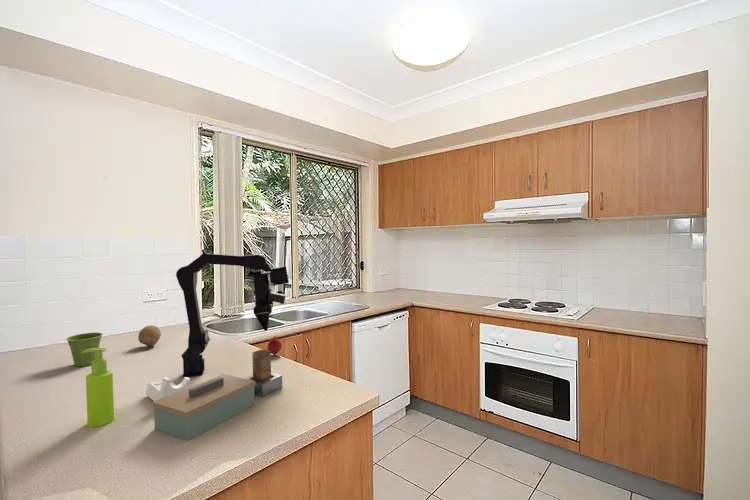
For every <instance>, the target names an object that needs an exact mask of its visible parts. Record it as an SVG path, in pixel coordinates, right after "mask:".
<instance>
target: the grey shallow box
mask: <svg viewBox="0 0 750 500" xmlns="http://www.w3.org/2000/svg"><path fill="white" fill-rule="evenodd" d="M244 379H248V380H253V374H251V375H250V376H247V377H245V378H244ZM253 381H255V380H253ZM282 388H283V374H278V373H273V372H271V378H270V379H268V380H266V381H264V382H260V381H255V386H254V391H255V396H256V397H260V398H264V397H266V396H268V395H270V394H272V393H274V392H276V391H278V390H279V389H282ZM255 396H254V397H255Z"/></svg>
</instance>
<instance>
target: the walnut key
mask: <svg viewBox="0 0 750 500" xmlns="http://www.w3.org/2000/svg"><path fill="white" fill-rule="evenodd" d="M271 356H272V354H271V351H269V350H268V349H258V350H255V351H252V375H253V380H255V381H260V382H264V381H266V380H268V379H270V378H271V373H272V359H271V358H272V357H271Z"/></svg>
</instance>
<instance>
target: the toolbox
mask: <svg viewBox="0 0 750 500" xmlns="http://www.w3.org/2000/svg"><path fill="white" fill-rule="evenodd" d="M254 386H255V381H253V380H248V379H245V378H243V377H239V376H238V377H237V376H232V375H229V374H226V373H223V374H220V375H217V376H214V377H211V378H209V379H207V380H205V381H202V382H199V383H197V384H194V385H192V386H189V388H186V389H184V390H181V391H179V392H176V393H173V394H171V395H168V396H166V397H163V398H161V399H158V400H156V401H153V400H152V401H151V406H152V407H153V415H154V416H153V420H154V421H153V423H154V430H156V431H159V432H163V433H165V434H167V435H171V436H173V437H176V438H179V439H182V440H184V441H187V442H188V441H190V440H192V439H193V438H195V437H198V436H199V435H201V434H203V433H205V432H207V431H209V430H211V429H212V428H215V427H217V426H218V425H221V424H222V423H224V422H226V421H227V420H228V421H229V420H230V419H232V418H233V417H235V416H237V415H239V414H241V413H243V412H245V411H247V410H249V409H250V408H252V407H254V406H255V391H254Z"/></svg>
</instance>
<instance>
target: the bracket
mask: <svg viewBox="0 0 750 500" xmlns="http://www.w3.org/2000/svg"><path fill="white" fill-rule="evenodd" d="M190 384H191V378H189V376H187V377H183V379H182V381H181V382H180V383H178V384H176V383H174V382H173V381H171V382H170V379H169V378H168V377H162V381H161V382H160V381H159V382H156V381H155V382H154V381H152V382H148V383H147V388H146V391H145V395H146V396H147V397H148V398H149V399H151V400H152V402H153V401H156V400H158V399H161V398H163V397H166V396H168V395H171V394H173V393H176V392H179V391H181V390H184V389H186V388H189V387H190Z"/></svg>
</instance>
